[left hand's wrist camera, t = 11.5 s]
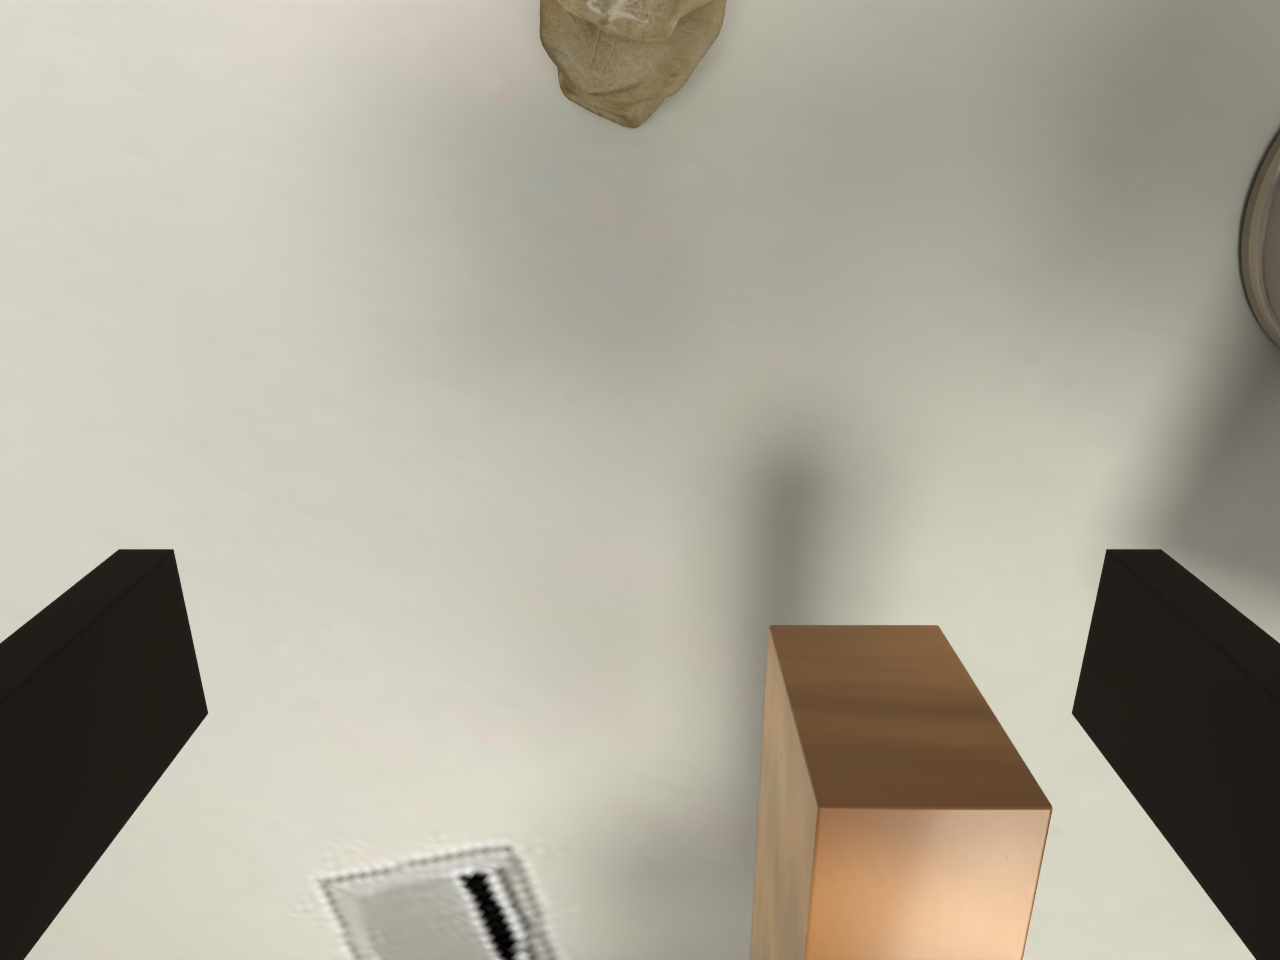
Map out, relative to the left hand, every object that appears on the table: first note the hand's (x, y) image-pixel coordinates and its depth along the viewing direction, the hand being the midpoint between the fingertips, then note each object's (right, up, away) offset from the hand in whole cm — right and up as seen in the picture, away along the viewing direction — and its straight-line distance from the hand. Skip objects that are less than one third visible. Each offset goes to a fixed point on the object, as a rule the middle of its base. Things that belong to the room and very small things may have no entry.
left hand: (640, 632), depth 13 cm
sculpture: (0, +21, +23) cm, 31 cm away
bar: (+7, -15, +20) cm, 26 cm away
